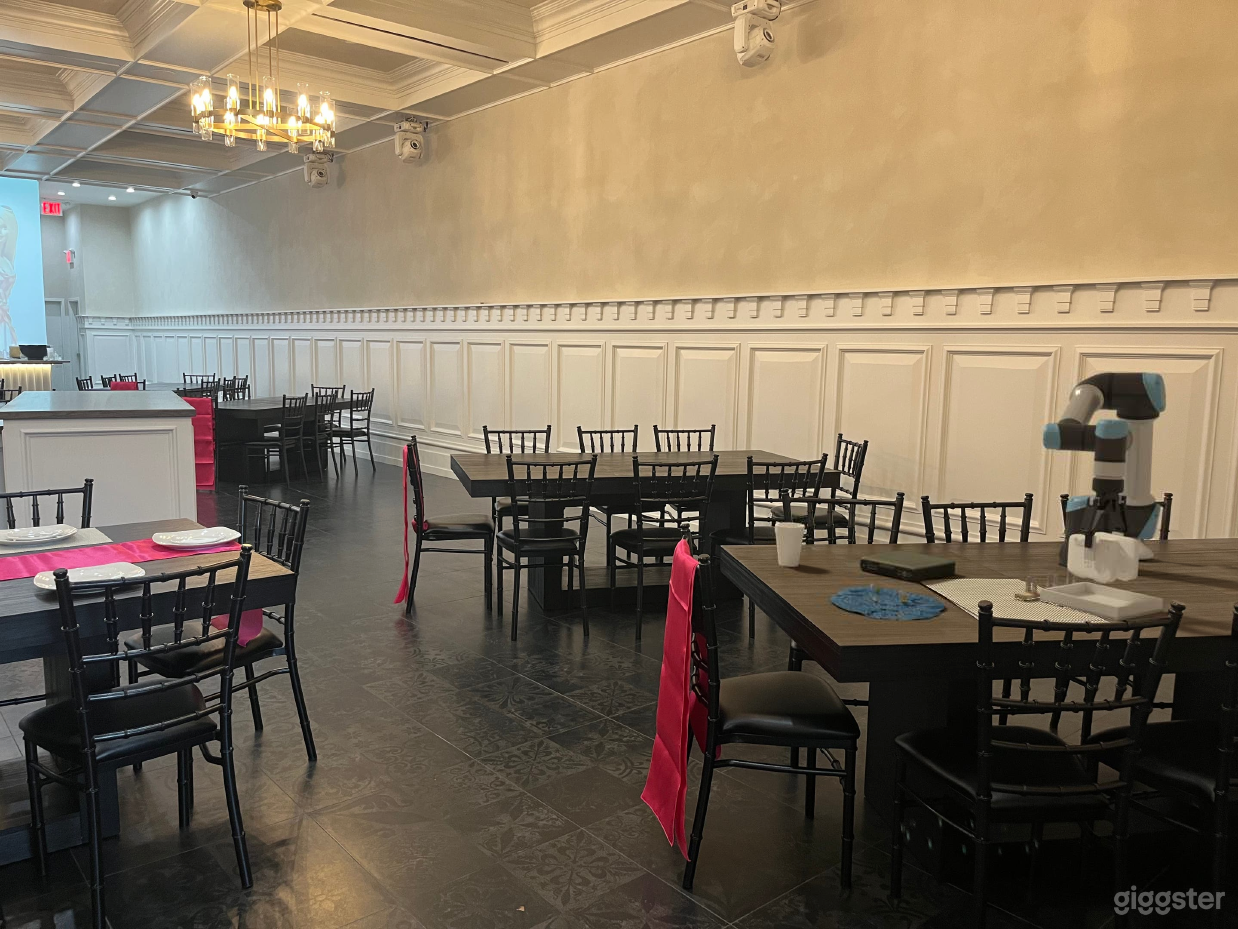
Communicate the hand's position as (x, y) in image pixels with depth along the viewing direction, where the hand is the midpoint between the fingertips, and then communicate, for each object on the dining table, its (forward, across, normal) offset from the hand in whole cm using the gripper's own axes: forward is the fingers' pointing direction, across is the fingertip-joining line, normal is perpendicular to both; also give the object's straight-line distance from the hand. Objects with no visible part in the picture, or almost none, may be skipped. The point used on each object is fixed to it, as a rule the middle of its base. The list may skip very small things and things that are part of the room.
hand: (1102, 558), depth 245 cm
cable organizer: (+6, 0, 0) cm, 6 cm away
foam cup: (+14, +41, -80) cm, 91 cm away
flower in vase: (+13, -75, -35) cm, 84 cm away
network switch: (+14, +15, -54) cm, 58 cm away
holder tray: (+13, 0, 0) cm, 13 cm away
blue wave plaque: (+14, +51, -27) cm, 59 cm away
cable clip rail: (+13, 0, -15) cm, 20 cm away
